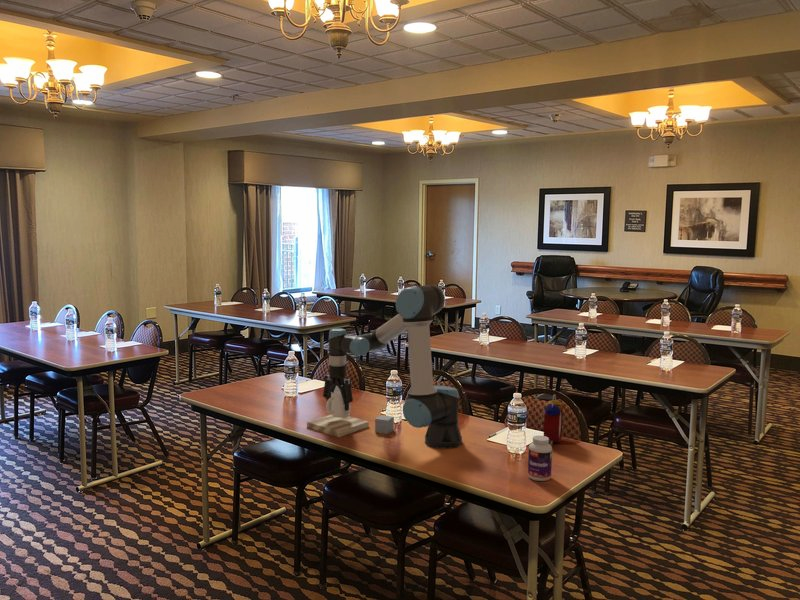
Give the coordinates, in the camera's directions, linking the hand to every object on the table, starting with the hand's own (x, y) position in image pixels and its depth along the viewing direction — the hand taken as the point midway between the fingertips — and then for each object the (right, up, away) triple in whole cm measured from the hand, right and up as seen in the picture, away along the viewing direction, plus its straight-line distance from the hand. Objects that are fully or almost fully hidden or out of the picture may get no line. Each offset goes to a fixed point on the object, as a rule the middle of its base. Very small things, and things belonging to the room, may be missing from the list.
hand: (337, 415), depth 277 cm
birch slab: (0, -6, +1) cm, 6 cm away
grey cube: (+20, -6, -4) cm, 22 cm away
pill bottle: (+76, -12, -54) cm, 94 cm away
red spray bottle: (+89, -8, -16) cm, 91 cm away
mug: (0, 0, 0) cm, 1 cm away
